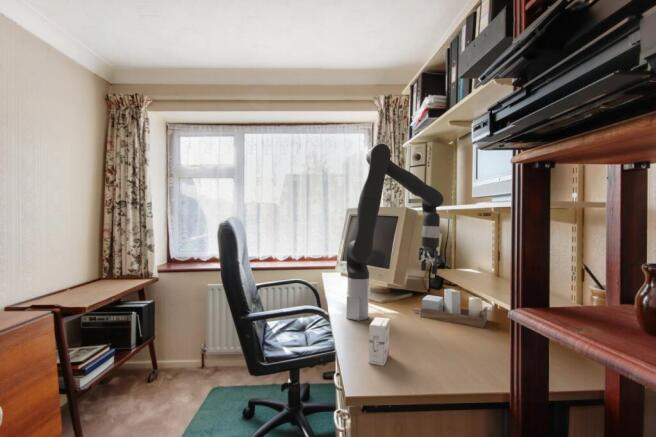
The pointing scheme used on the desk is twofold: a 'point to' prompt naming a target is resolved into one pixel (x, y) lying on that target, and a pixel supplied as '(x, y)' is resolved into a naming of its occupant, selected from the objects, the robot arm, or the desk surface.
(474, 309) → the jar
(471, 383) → the desk surface
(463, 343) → the desk surface
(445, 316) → the lane
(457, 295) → the skincare box
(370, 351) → the ink box
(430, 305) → the stamp block with stem
